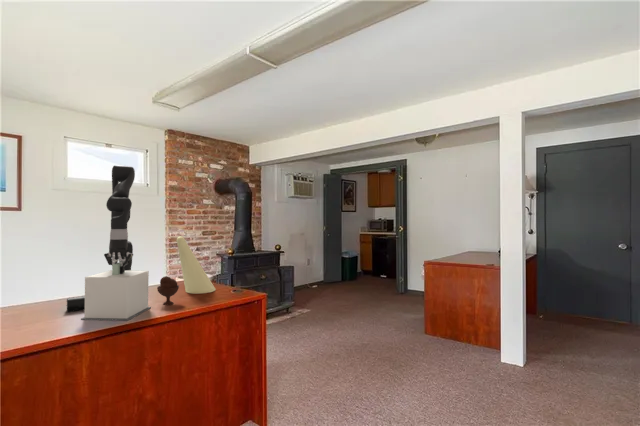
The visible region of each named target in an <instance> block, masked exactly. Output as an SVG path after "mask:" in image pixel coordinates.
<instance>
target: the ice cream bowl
mask: <svg viewBox="0 0 640 426" xmlns="http://www.w3.org/2000/svg"><path fill="white" fill-rule="evenodd" d="M159 283H160V285H159V286H157V292H158V293H159V294H160V295H161V296H163V297H165V298H166V300H165V301H164V302H162V306H172V305H174V302H173V301H171V297H172V296H174V295H175V294H176V293H177V292H178V291H179V288H180V285H179V284H178V282H177V281H176V279H174V278H172V277H170V276H163V277H161V278H160V281H159Z"/></svg>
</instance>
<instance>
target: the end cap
mask: <svg viewBox="0 0 640 426" xmlns="http://www.w3.org/2000/svg"><path fill="white" fill-rule="evenodd" d="M66 311H67V312H68V313H71V312H77V311H85V295H82V296H78V297H68V298H67V299H66Z"/></svg>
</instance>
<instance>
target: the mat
mask: <svg viewBox="0 0 640 426" xmlns="http://www.w3.org/2000/svg"><path fill="white" fill-rule="evenodd" d="M151 308H152V306H148V308H146V309H144V310H142V311H140V312H138V313H136V314H134V315H132V316H131V317H129V318H127V319H125V318H85V316H84V317H81V318H80V321H123V322H125V321H129V320H131V319H133V318H135V317H137V316H139V315H141V314H143V313H145V312H146V311H148V310H150V309H151Z"/></svg>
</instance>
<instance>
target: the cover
mask: <svg viewBox="0 0 640 426" xmlns="http://www.w3.org/2000/svg"><path fill="white" fill-rule="evenodd" d="M111 268H112V269H111V270H107V271H103V272H99V273H96V274H91V275H87V276H85V277H84V296H85V310H84V317H85V318H125V319H127V318H129V317H131V316H132V315H134V314H136V313H138V312H140V311H142V310H144V309H146V308H148V307H149V276H150V275H149V270H131V271H126V270H125V272H124V273H123V274H120V263H119V262H118V263H116V264H112V265H111Z"/></svg>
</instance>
